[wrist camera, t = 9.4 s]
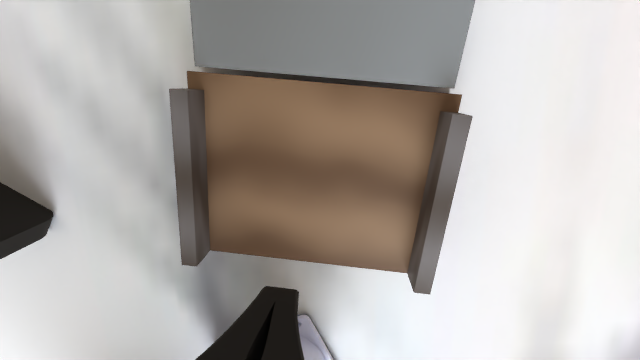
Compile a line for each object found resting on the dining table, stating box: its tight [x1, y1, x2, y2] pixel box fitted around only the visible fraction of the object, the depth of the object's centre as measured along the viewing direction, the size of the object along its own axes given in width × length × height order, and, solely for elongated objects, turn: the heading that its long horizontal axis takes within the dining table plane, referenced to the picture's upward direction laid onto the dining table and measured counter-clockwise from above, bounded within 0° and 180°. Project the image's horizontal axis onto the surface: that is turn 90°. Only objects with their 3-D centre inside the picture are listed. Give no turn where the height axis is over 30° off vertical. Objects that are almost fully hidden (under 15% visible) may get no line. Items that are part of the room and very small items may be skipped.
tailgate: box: [190, 0, 475, 88], centre depth 17 cm, size 1×15×5 cm
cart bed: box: [169, 71, 472, 294], centre depth 19 cm, size 12×16×4 cm
